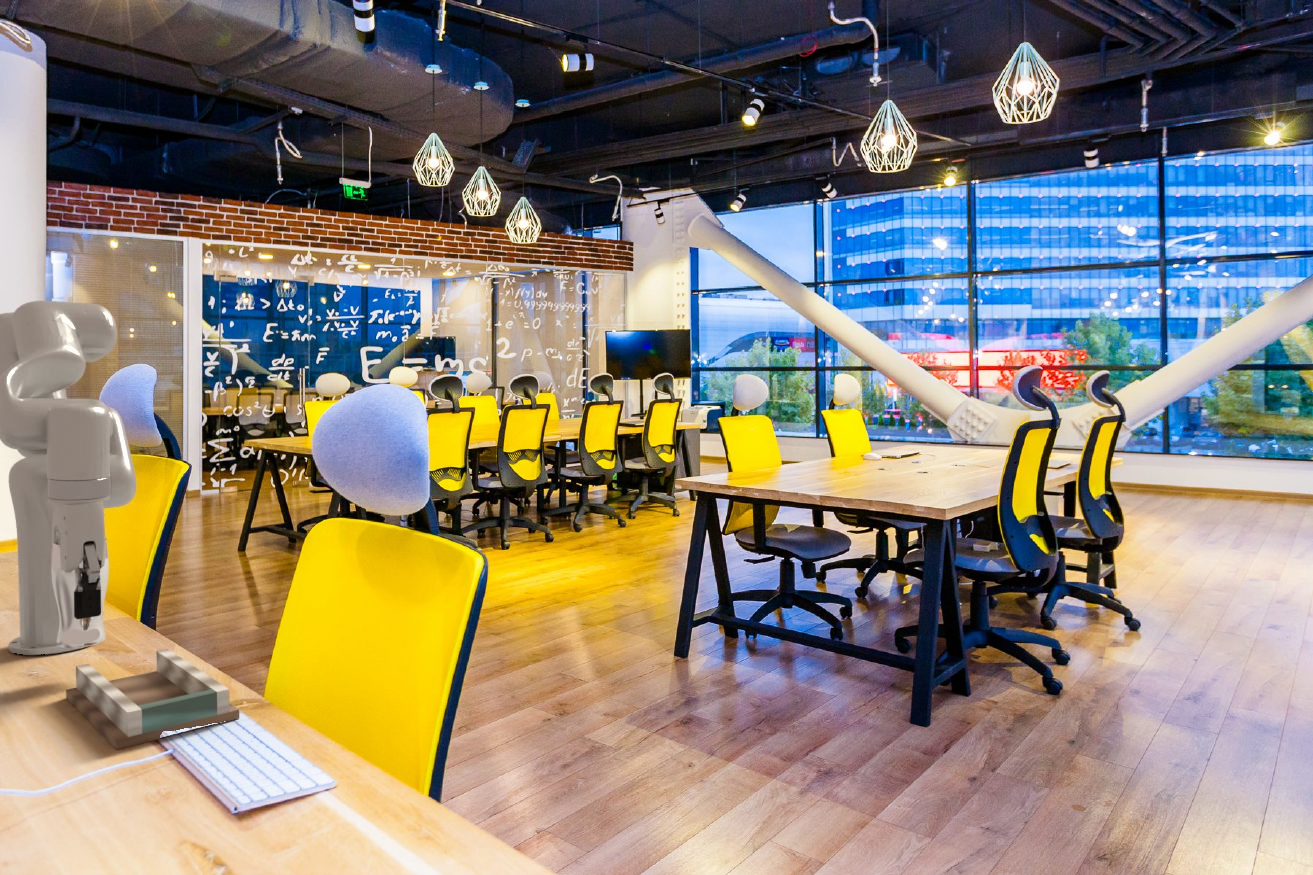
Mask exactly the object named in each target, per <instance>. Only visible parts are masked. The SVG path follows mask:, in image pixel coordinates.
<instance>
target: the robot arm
mask: <svg viewBox="0 0 1313 875" xmlns="http://www.w3.org/2000/svg"><path fill="white" fill-rule="evenodd" d="M117 338H118V330H117V323H116V320H115V317H114V316H113V315H112V313H111V312H110V310H108V309H107V308H106V307H104V306H103V305H100V304H95V303H87V302H72V301H71V302H70V301H56V300H34V301H29V302H26V303H24V304H21V305H20V306H19V307H17V308H16V309H15V310H14V312H3V313H0V441H1V442H2V444H3V445H4V446H6V447H7V448H10V449H13V450H17V452H18V453H19V454H20V455H21V456H22V457H24V458H21V459H19V460H18V461H16V462H15V463H13V465H12V466H11V467H10V469H9V473H8V487H9V494H10V497H11V503H12V506H13V512H14V517H15V527H16V528H15V529H16V541H17V569H18V570H17V571H18V600H19V602H18V604H19V606H18V608H19V609H18V610H19V611H18V612H19V634H20V636H18V637H16V638H14V639H12V640H11V641H9V643H8V651H9V652H10V653H12V654H14V653H17V654H16V655H19V654H23V655H22V656H42V655H43V654H45V655H53V654H59V653H67V652H71V651H75V650H80V649H83V648H84V649H85V647H81V648H63V647H59V646H58V645H57V644H56V641H57V635H58V630H59V612H58V607H57V603H56V599H55V595H54V590H53V584H52V575H51V562H52V550H53V542H54V541H55V542H56V544H58V545H60V559H61V570H63V571H64V572H66V573H71V571H72V570H75V581H76V589H77V591H74V617H75V618H76V619H83V618H89V617H95V616H100V615H101V583H100V575H99V574H100V569H101V568H102V567H103V566H104V565H105V554H106V545H105V538H106V526H105V522H106V521H105V516H106V515H105V510H104V509H113V508H120V507H123V506H124V507H125V506H127V505H128V504H130V503H131V501H133V499H134V498H135V495H136V492H137V475H136V471H135V467H134V466H135V465H134V461H133V458H132V453H131V449H130V446H129V441H128V437H127V433H126V427H125V425H124V421H123V419H122V417H121V415H120V413H119V412H118V411H117V410H116V409H115V408H113V407H112V406H111V407H110V406H108V405H107V404H105V403H104V402H103V401H101V400H99V399H94V398H68V397H67V390H66V389H67V388H69V387H71V386H74V385H75V384H76V383H77V382H79V381H80V380H81V378H82V377H83V376H84V374H85V371H86V363H94V362H98V361H99V360H101V359H102V358H105V357H106V356H108V355H109V354H110V353H111V352H112V351H113V350H114V348H115V346H116V344H117V340H118V339H117ZM97 557H98V558H97ZM83 558H85V562H86V566H87V568H84V569H79V564H80V563H81V562H82V560H83ZM98 559H99V560H101V563H100V564H99V562H98ZM100 566H101V567H100ZM83 573H87V575H84V577H83V578H82V577H81V574H83ZM41 654H42V655H41Z"/></svg>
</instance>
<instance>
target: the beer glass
mask: <svg viewBox="0 0 1313 875" xmlns="http://www.w3.org/2000/svg"><path fill="white" fill-rule="evenodd" d="M105 545H106V554H105V565H104V566H103V567H102V568H101V569H100V574H99V575H100V583H101V615H100V616H95V617H89V618H83V619H76V618H75V617H74V591H77V589H76V581H75V570H72V571H71V573H66V572H64V571H63V570H61V559H60V545H58V544H56V542H55V541H54V542H53V550H52V562H51V575H52V584H53V590H54V595H55V599H56V603H57V607H58V612H59V630H58V635H57V641H56V644H57V645H58V646H59V647H63V648H81V647H84V648H87V647H91V646H96V645H99V644H101V643H104V642H105V641H106V639H107V633H106V628H105V625H104V618H103V617H104V604H105V600H106V594H107V588H108V584H109V573H110V571H109V569H110V562H109V561H110V560H109V550H108V539H107V538H106V537H105ZM97 558H98V557H97ZM98 562H99V564H100V563H101V560H99V559H98ZM100 567H101V566H100ZM84 568H87V566H86V562H85V558H83V560H82V562H81V563H80V564H79V569H84ZM84 575H87V573H83V574H81V577H82V578H83V577H84ZM81 649H82V648H81Z"/></svg>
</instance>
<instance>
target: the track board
mask: <svg viewBox="0 0 1313 875" xmlns="http://www.w3.org/2000/svg"><path fill="white" fill-rule="evenodd" d="M155 653H156V671H150V672H146V673H145V672H144V673H141V674H135V675H130V676H124V677H121V678H117V679H110V680H108V679H107V678H105V676H103V675H102V674H101V673H100V672H99V671H98V670H96V669H95V668H94V667H93V666H92V665H90V664H89V663H87V664H81V665H76V666H75V686H76V687H71V688H67V689H65V696H66V700H68V701H69V702H70V703H71V704H72V705H73V706H74V708H75V709H76V710H77V711H78V712H79V713H80V714H81V715H82V716H83V717H84V718H85V719H86V720H87V721H88V722H89V723H90V724H91V725H92V726H93V727H94V729H95V730H97V731H98V732H99V734H101V735H102V736H103V737H104V738H105V739H106V740H107V741H108V743H110V744H111V746H113V747H114V749H116V751H117V750H123V749H126V748H130V747H133V746H137V745H141V744H145V743H149V742H154V741H157V740H161V739H160V735H161V734H162V732H163V731H174V730H175V731H176V730H180V729H184V728H192V727H196V726H204V725H208V724H212V723H220V722H224V721H228V722H230V721H229V720H232V721H235V720H234V719H236V720H238V719H237V718H239V719H240V709H239V708H237V707H236V706H235V705H233V704H232V703H230V689H229V687H227V686H225V685H224V684H222V683H221V682H219V681H217V680H216V679H215V678H213V677H211V676H210V675H208V674H206V673H205V672H204V671H202V670H201V669H199V668H197V667H196V666H194V665H193V664H192V663H190V662H188V661H187V660H186V659H184V658H182V657H181V656H179V655H178V654H176V653H175V652H173V651H172V650H170V649H168V648H165V649H160V650H156V652H155ZM224 723H225V722H224ZM220 724H221V723H220Z"/></svg>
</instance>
